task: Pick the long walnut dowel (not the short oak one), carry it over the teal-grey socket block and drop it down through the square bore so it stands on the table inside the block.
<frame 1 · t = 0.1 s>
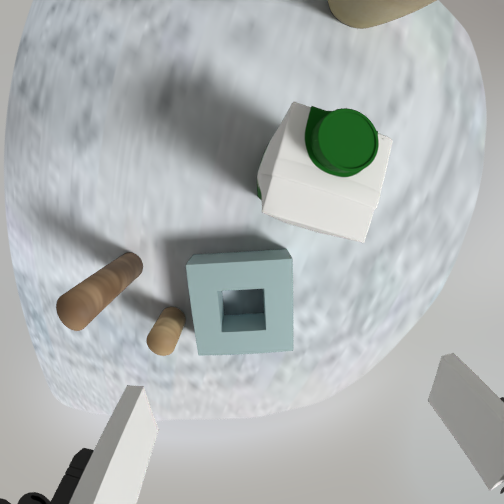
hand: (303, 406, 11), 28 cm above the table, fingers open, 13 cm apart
plant pot: (351, 10, 30), on the table
milk carton: (291, 177, 36), on the table
socket block: (242, 295, 39), on the table
oak pin short: (173, 318, 40), on the table
walnut pin long: (130, 265, 38), on the table
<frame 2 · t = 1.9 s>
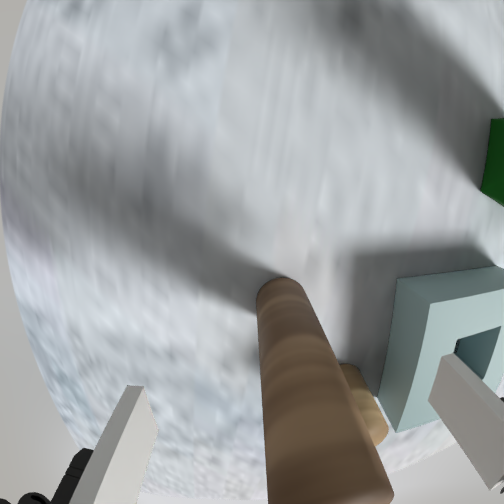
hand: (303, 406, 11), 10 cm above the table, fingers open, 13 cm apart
socket block: (442, 333, 22), on the table
oak pin short: (340, 380, 23), on the table
walnut pin long: (281, 301, 21), on the table
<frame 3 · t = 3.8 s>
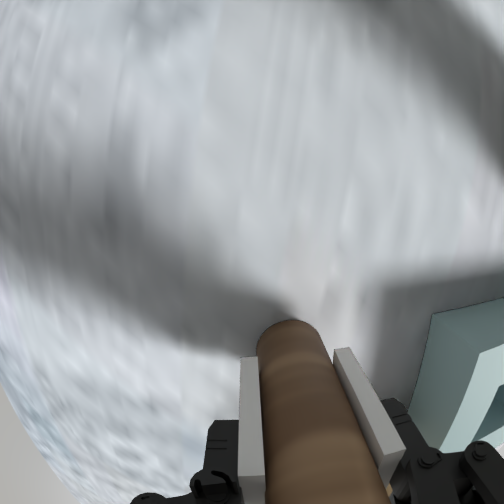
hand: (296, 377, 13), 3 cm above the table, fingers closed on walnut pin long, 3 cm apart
socket block: (473, 370, 17), on the table
walnut pin long: (289, 349, 16), on the table, touching gripper
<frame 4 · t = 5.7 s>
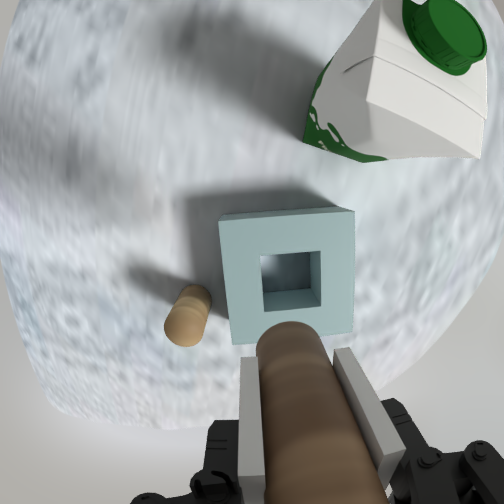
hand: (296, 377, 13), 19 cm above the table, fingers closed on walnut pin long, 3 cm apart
milk carton: (340, 122, 28), on the table
socket block: (285, 266, 32), on the table
oak pin short: (195, 300, 32), on the table
walnut pin long: (288, 350, 16), point 16 cm above the table, touching gripper
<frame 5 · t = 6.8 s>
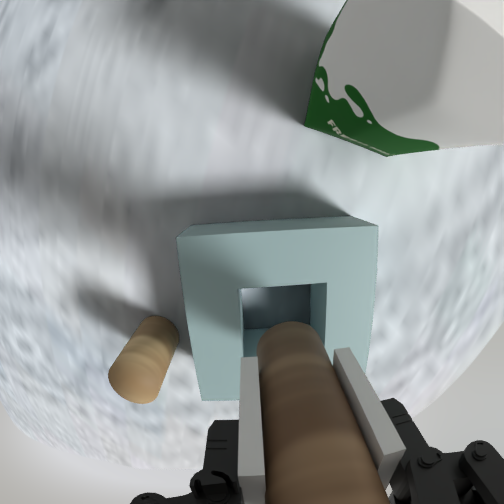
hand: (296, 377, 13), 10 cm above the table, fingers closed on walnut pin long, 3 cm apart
milk carton: (355, 102, 20), on the table
socket block: (276, 296, 23), on the table
oak pin short: (158, 334, 24), on the table
walnut pin long: (289, 350, 16), point 8 cm above the table, touching gripper
when the fingers open (6 cm above the table, at t = 7.8 s): walnut pin long drops 3 cm, resting in socket block.
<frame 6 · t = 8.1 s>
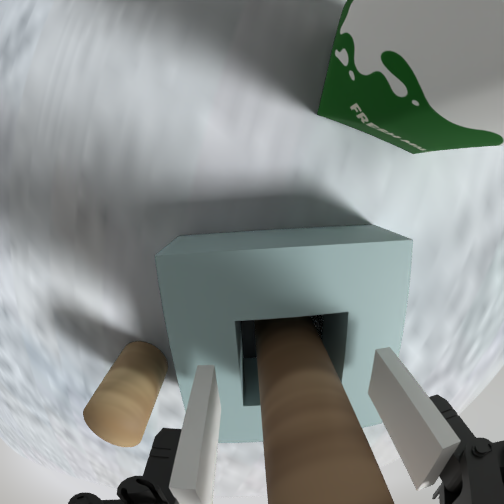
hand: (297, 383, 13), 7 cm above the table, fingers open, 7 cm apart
milk carton: (376, 88, 16), on the table
socket block: (282, 321, 19), on the table
oak pin short: (144, 362, 20), on the table
walnut pin long: (281, 322, 19), resting in socket block
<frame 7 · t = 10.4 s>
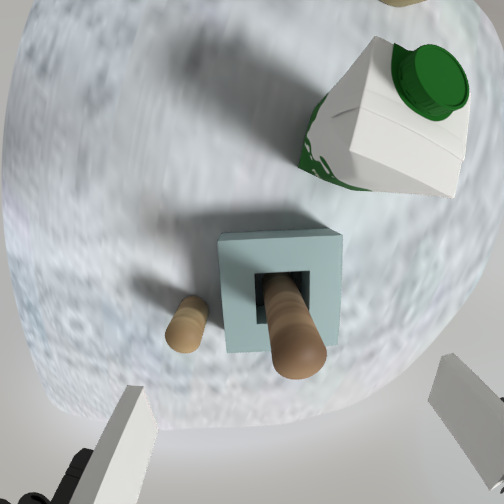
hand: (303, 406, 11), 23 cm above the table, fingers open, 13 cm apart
milk carton: (334, 148, 31), on the table
socket block: (277, 282, 34), on the table
oak pin short: (193, 310, 35), on the table
walnut pin long: (277, 282, 34), resting in socket block
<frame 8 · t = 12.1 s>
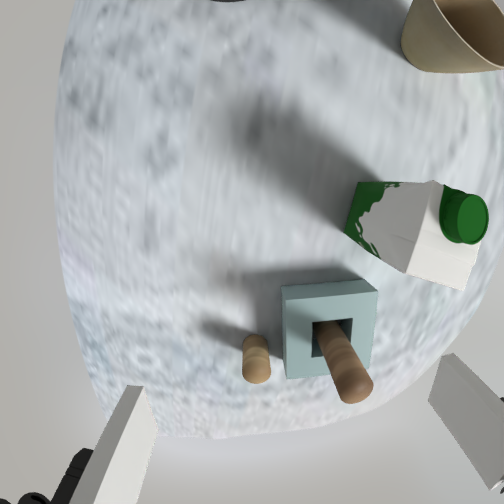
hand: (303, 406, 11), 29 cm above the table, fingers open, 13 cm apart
plant pot: (418, 51, 32), on the table
milk carton: (371, 215, 38), on the table
socket block: (323, 321, 41), on the table
oak pin short: (255, 345, 42), on the table
walnut pin long: (323, 321, 41), resting in socket block
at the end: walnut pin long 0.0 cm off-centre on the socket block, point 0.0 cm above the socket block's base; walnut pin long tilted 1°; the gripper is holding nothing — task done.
